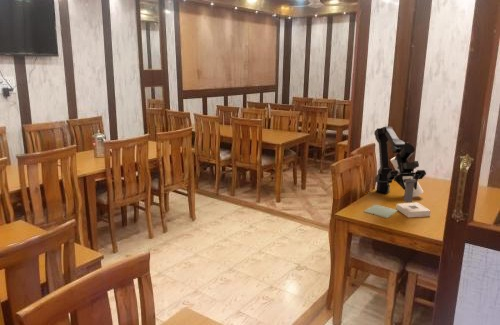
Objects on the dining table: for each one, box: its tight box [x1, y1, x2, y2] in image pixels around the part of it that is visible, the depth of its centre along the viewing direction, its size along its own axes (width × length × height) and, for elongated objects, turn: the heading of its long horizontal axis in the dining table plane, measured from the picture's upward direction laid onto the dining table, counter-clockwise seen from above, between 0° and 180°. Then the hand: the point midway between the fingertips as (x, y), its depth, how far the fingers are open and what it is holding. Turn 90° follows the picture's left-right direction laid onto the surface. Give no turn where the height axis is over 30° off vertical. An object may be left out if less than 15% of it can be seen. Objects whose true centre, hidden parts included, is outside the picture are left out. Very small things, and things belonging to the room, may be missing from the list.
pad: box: [363, 204, 399, 219], centre depth 206 cm, size 13×13×1 cm
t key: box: [403, 179, 416, 203], centre depth 201 cm, size 3×6×12 cm, turn 93°
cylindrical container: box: [389, 155, 424, 198], centre depth 227 cm, size 7×7×25 cm
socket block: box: [395, 202, 431, 219], centre depth 204 cm, size 12×12×3 cm
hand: (410, 189), depth 200 cm, fingers closed on t key, 5 cm apart
